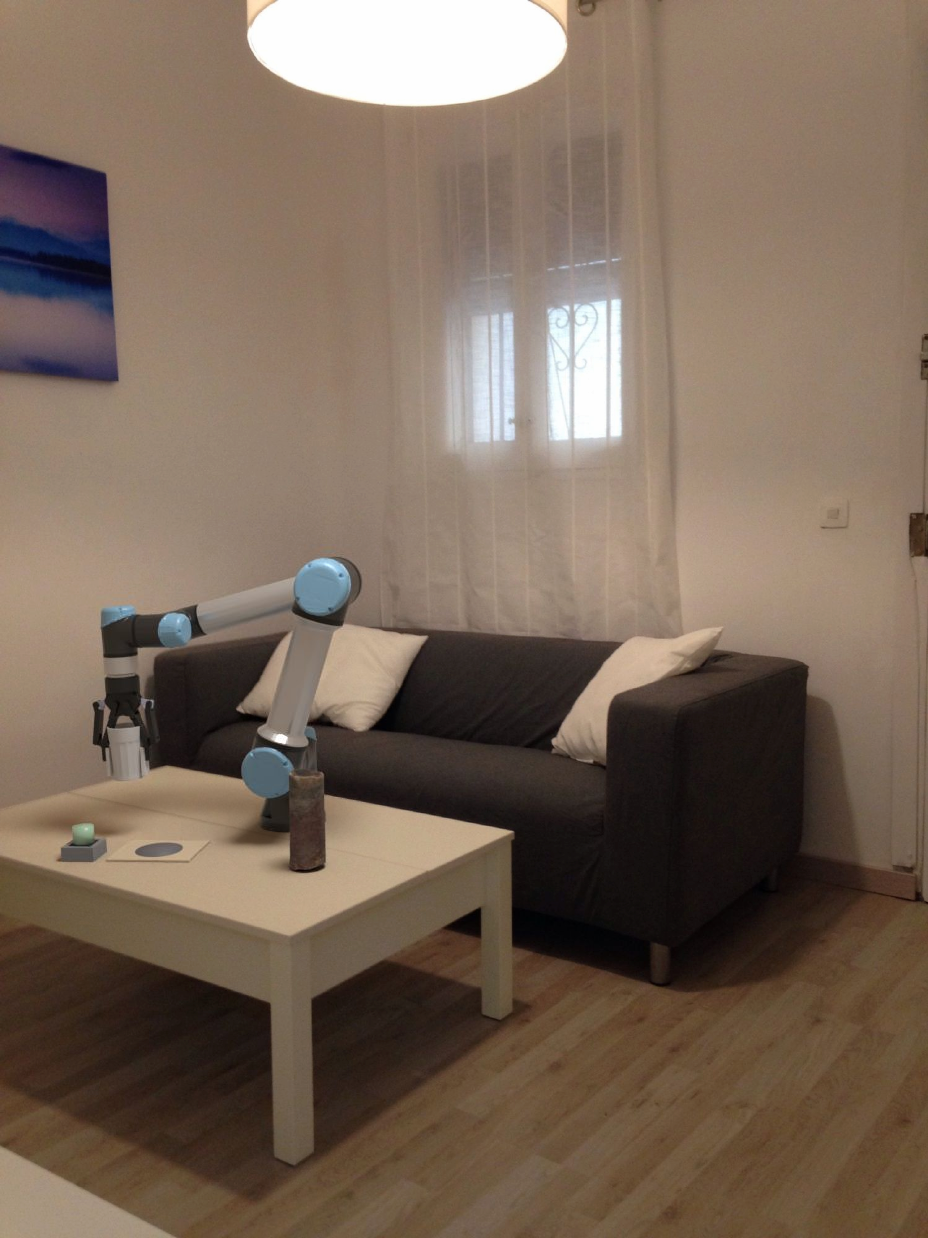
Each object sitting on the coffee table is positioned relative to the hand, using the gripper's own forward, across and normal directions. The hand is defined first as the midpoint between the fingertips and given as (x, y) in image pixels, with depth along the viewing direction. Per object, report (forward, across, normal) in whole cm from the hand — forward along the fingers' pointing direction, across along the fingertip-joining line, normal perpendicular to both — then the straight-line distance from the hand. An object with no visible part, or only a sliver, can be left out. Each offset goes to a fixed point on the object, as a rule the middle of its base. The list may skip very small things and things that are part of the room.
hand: (128, 775), depth 252 cm
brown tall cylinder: (+15, -45, +20) cm, 52 cm away
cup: (+1, 0, 0) cm, 1 cm away
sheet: (+14, -10, +11) cm, 21 cm away
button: (+11, +5, +15) cm, 19 cm away
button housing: (+14, +5, +15) cm, 21 cm away
